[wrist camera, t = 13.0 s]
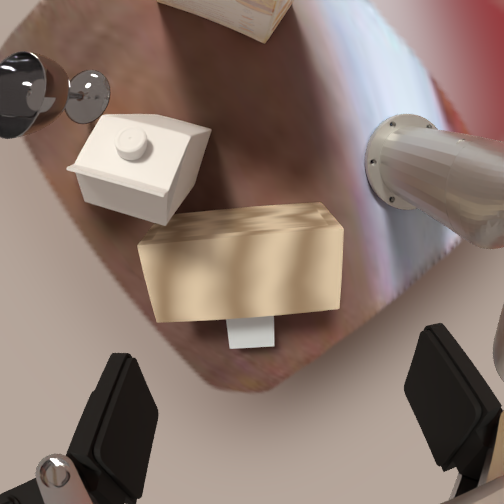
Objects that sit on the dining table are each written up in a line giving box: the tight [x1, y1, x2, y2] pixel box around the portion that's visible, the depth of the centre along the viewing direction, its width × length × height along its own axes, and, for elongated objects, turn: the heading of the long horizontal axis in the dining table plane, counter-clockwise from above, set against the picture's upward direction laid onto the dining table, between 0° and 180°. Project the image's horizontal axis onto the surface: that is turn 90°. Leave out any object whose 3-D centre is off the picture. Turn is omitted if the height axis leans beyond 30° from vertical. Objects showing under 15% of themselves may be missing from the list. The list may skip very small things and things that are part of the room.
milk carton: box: [67, 114, 212, 226], centre depth 26 cm, size 7×7×19 cm
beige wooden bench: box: [137, 202, 344, 322], centre depth 36 cm, size 20×9×10 cm, turn 95°
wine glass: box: [0, 51, 110, 139], centre depth 25 cm, size 8×8×15 cm
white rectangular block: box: [226, 316, 274, 349], centre depth 40 cm, size 6×16×5 cm, turn 3°
